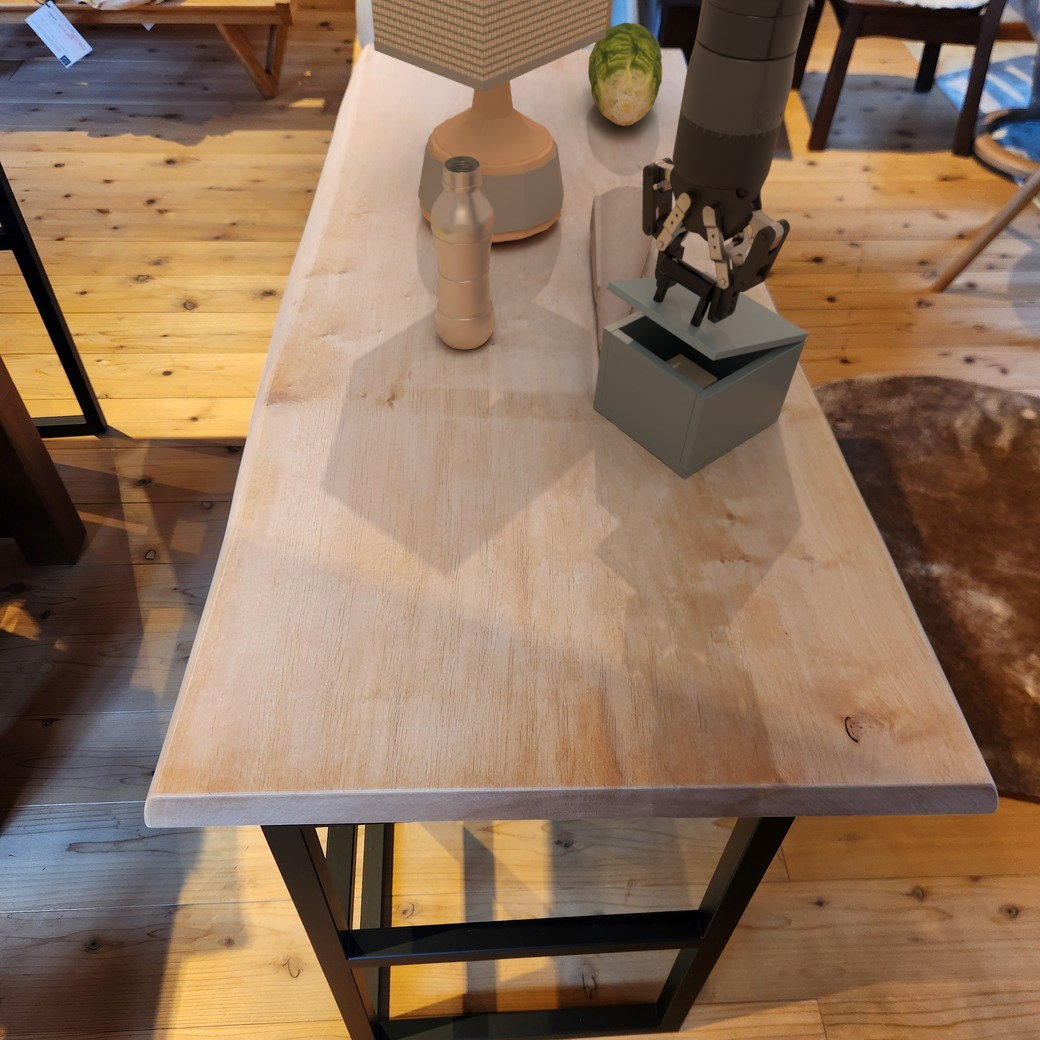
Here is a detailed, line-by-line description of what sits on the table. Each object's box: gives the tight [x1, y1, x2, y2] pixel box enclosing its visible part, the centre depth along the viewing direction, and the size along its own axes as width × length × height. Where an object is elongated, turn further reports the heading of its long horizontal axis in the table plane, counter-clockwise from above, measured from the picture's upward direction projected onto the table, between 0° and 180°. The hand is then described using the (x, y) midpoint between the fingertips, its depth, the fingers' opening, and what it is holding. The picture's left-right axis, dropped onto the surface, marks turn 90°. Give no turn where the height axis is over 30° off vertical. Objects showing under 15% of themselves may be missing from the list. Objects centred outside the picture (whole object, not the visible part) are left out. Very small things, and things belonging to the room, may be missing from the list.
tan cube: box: [666, 354, 718, 389], centre depth 84 cm, size 5×5×5 cm
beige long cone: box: [589, 185, 658, 353], centre depth 100 cm, size 8×9×26 cm
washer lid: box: [607, 254, 809, 360], centre depth 77 cm, size 15×13×5 cm
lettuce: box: [587, 22, 663, 127], centre depth 131 cm, size 12×21×11 cm, turn 176°
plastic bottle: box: [429, 156, 496, 350], centre depth 87 cm, size 6×7×20 cm
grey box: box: [592, 310, 806, 480], centre depth 84 cm, size 14×13×10 cm
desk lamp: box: [370, 0, 609, 243], centre depth 99 cm, size 22×19×37 cm
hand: (691, 301), depth 75 cm, fingers closed on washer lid, 5 cm apart
